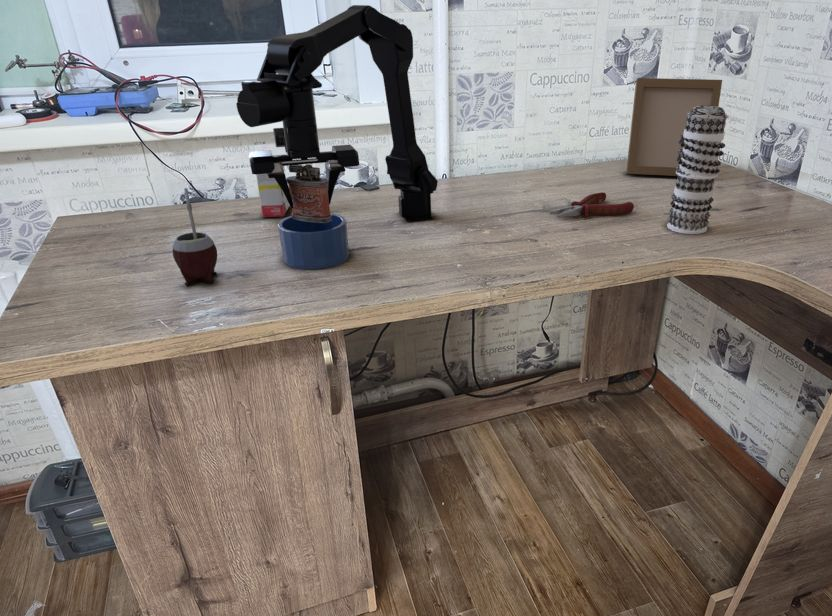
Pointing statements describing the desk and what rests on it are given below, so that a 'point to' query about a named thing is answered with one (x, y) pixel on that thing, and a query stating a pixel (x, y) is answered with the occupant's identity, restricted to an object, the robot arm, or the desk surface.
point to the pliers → (593, 207)
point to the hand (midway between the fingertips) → (310, 205)
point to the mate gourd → (195, 253)
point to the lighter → (309, 194)
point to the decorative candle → (697, 169)
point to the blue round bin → (314, 242)
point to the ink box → (271, 197)
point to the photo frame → (664, 120)
